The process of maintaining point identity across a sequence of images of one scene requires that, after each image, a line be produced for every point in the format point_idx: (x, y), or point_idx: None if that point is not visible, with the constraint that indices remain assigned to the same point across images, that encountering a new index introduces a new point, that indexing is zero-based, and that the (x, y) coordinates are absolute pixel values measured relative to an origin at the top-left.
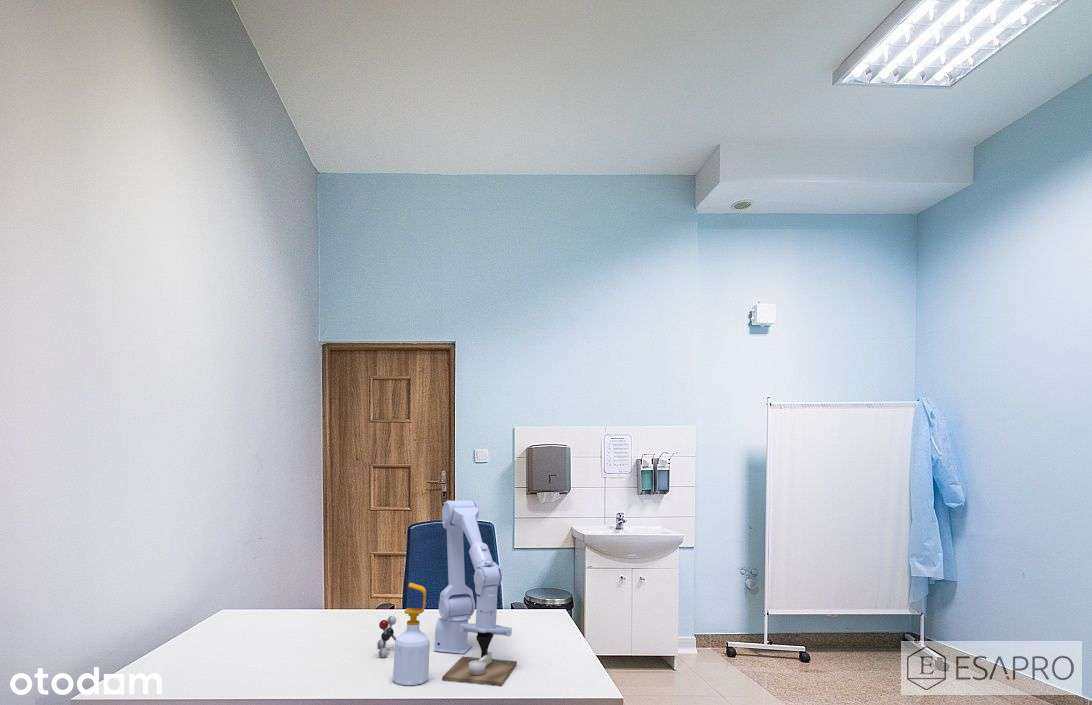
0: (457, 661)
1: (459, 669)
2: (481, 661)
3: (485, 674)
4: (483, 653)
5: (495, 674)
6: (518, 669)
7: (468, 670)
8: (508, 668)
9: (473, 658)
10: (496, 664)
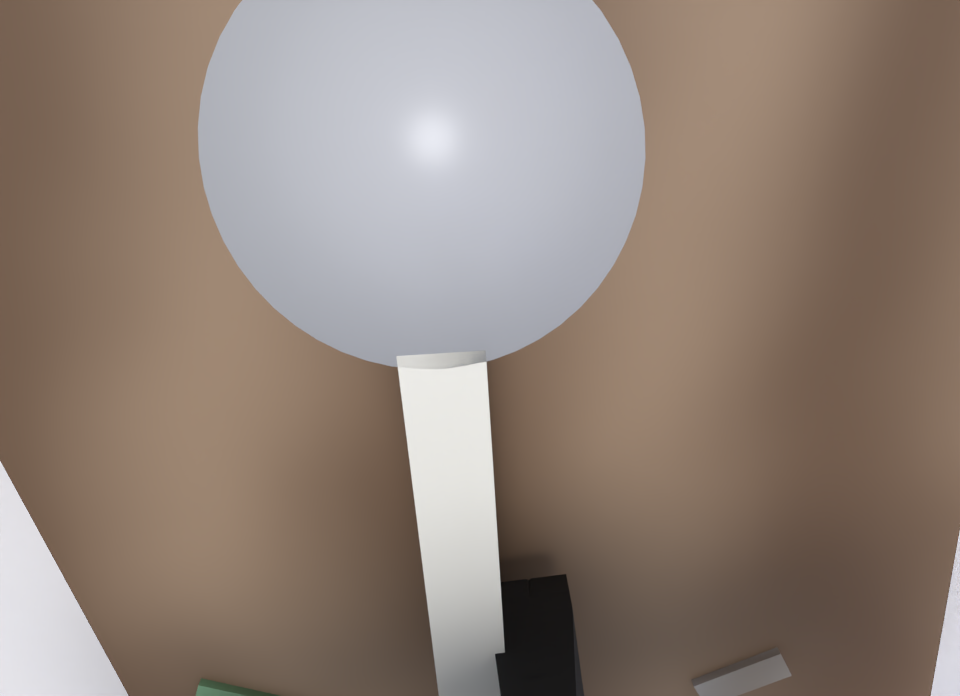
0: (958, 523)
1: (832, 186)
2: (377, 307)
3: None
4: (527, 675)
5: (88, 218)
6: (83, 648)
7: (649, 206)
8: (97, 552)
9: (751, 685)
10: (351, 622)
